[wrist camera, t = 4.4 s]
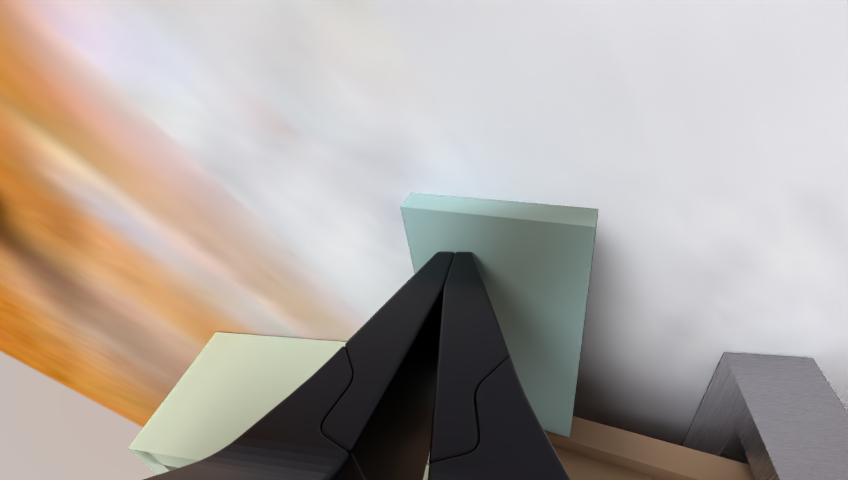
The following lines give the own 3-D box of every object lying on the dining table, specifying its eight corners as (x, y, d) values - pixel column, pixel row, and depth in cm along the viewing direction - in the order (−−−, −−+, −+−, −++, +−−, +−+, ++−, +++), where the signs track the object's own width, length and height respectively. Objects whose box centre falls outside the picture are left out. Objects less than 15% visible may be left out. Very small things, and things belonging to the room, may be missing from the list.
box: (433, 348, 14) (399, 495, 10) (460, 477, 19) (444, 600, 16) (215, 331, 16) (127, 448, 12) (296, 451, 21) (250, 555, 18)
